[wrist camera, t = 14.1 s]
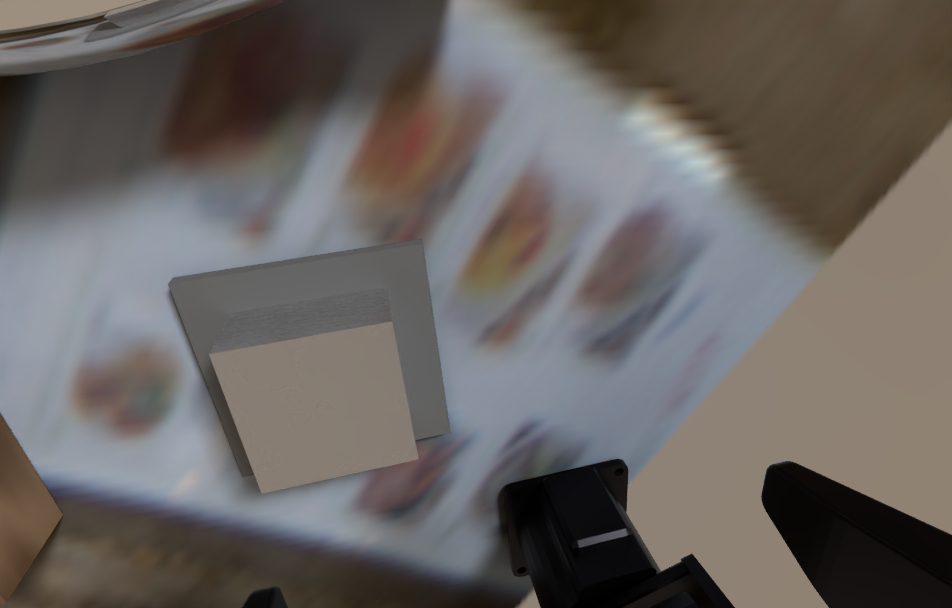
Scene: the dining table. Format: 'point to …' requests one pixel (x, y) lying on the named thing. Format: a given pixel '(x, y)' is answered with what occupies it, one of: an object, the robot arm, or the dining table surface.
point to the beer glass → (104, 29)
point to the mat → (317, 277)
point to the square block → (316, 388)
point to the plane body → (21, 513)
